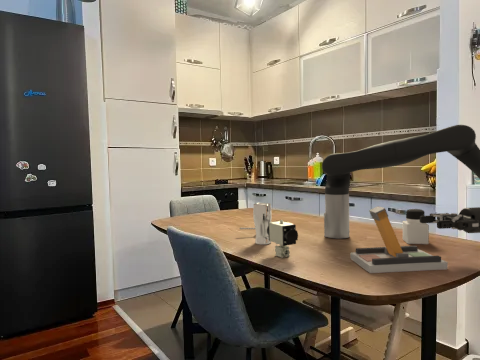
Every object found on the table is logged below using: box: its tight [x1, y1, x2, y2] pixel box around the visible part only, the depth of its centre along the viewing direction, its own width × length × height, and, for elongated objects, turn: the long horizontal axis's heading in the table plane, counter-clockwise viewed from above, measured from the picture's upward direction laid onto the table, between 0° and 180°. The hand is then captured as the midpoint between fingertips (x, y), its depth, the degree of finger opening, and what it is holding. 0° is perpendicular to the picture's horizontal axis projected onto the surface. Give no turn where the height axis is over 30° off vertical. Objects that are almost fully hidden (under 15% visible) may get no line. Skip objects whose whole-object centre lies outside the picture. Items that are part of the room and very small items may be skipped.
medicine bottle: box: [402, 208, 430, 245], centre depth 128 cm, size 7×7×12 cm
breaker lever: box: [368, 205, 403, 257], centre depth 103 cm, size 3×5×15 cm, turn 3°
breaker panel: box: [350, 246, 449, 274], centre depth 103 cm, size 22×14×4 cm, turn 93°
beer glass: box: [252, 202, 273, 246], centre depth 134 cm, size 7×7×15 cm
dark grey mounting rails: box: [355, 245, 442, 265], centre depth 103 cm, size 19×13×1 cm
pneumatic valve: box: [267, 219, 299, 259], centre depth 115 cm, size 6×12×12 cm, turn 28°
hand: (428, 222), depth 103 cm, fingers open, 8 cm apart
